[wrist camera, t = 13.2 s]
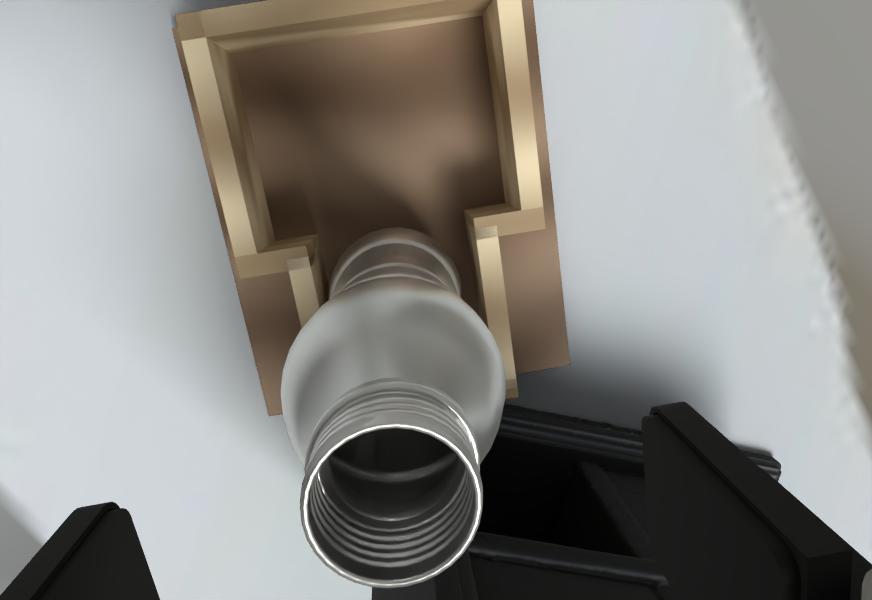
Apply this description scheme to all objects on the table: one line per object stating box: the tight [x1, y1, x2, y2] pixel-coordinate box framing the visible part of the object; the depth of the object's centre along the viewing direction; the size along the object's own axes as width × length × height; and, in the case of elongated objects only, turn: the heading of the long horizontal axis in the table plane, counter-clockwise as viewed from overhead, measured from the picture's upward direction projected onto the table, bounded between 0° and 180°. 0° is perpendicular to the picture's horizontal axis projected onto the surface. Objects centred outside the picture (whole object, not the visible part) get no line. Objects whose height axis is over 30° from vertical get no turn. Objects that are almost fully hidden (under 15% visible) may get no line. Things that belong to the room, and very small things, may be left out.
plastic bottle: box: [281, 227, 506, 588], centre depth 21 cm, size 6×7×20 cm
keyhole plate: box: [172, 0, 570, 416], centre depth 28 cm, size 20×17×5 cm
